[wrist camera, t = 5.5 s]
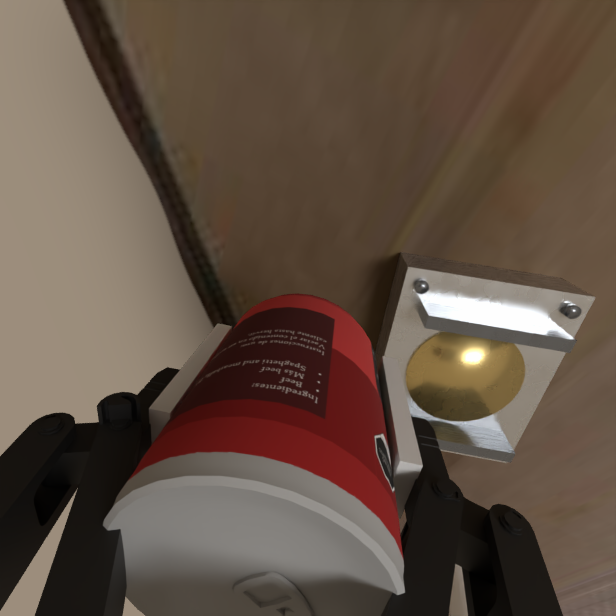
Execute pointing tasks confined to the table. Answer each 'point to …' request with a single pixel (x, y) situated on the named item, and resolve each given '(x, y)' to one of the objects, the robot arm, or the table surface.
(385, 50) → the table surface
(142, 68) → the table surface
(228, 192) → the table surface
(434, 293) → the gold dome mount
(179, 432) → the canned food
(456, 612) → the drinking glass
